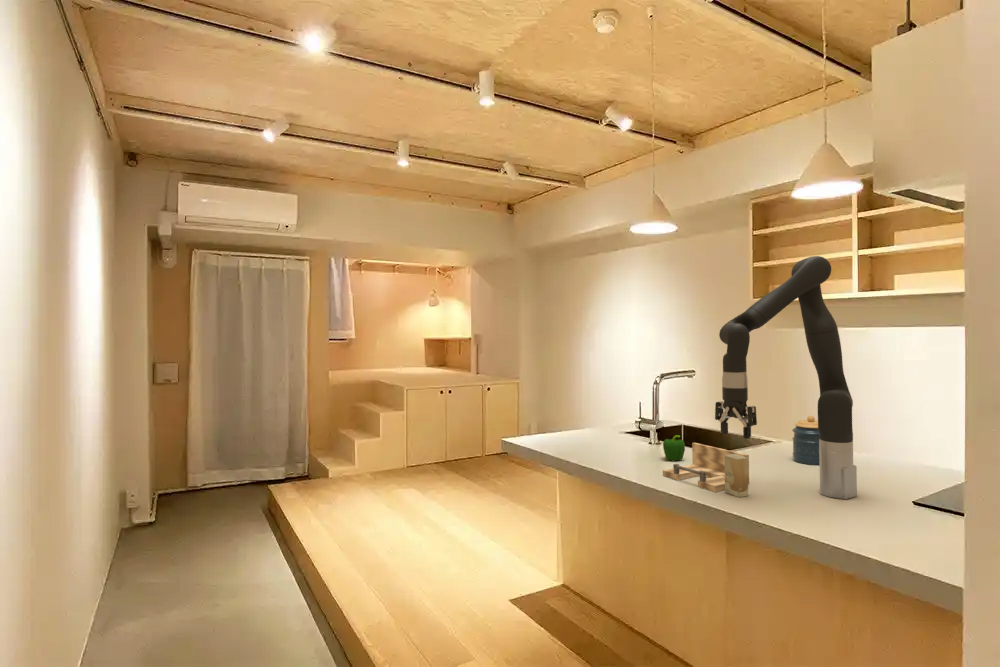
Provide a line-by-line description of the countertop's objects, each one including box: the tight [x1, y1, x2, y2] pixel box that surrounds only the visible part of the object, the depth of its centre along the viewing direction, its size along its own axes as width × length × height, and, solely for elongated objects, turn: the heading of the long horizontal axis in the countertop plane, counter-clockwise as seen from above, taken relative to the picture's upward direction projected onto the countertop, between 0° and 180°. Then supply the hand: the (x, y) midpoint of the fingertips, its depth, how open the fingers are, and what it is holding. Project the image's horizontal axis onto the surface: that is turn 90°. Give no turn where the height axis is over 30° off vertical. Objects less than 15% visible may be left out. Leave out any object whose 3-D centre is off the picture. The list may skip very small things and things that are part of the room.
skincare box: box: [724, 454, 749, 498], centre depth 186 cm, size 6×4×12 cm
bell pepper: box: [662, 434, 686, 462], centre depth 232 cm, size 8×8×10 cm
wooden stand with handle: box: [662, 442, 750, 493], centre depth 203 cm, size 24×16×10 cm, turn 28°
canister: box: [791, 415, 820, 466], centre depth 224 cm, size 13×13×18 cm
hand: (735, 436), depth 186 cm, fingers open, 8 cm apart
